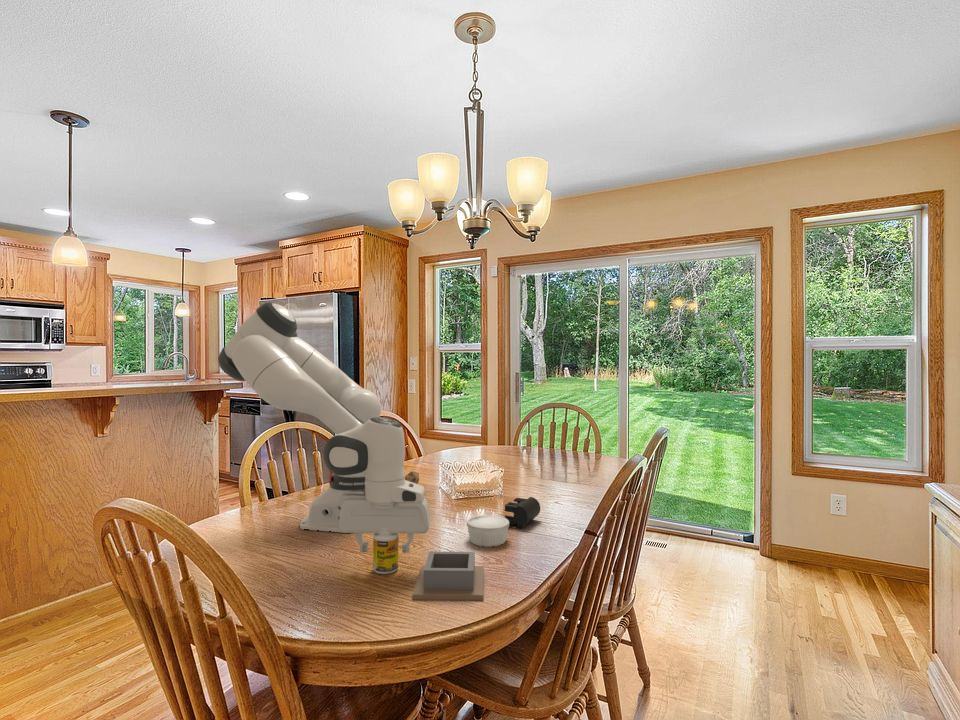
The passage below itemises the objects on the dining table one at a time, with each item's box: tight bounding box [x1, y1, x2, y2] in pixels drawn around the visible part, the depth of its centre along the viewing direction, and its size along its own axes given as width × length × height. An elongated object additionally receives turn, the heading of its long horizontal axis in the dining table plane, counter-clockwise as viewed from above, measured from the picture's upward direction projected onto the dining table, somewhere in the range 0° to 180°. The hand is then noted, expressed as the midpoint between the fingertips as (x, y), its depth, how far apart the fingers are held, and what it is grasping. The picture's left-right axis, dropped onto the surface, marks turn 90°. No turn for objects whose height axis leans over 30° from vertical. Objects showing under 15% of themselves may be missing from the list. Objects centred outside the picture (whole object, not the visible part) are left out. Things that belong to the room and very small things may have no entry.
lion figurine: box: [405, 470, 420, 484], centre depth 175 cm, size 15×5×9 cm, turn 103°
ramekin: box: [466, 514, 510, 548], centre depth 135 cm, size 11×11×5 cm
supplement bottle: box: [372, 528, 399, 575], centre depth 117 cm, size 6×6×10 cm
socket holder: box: [411, 551, 485, 601], centre depth 109 cm, size 14×14×5 cm
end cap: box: [504, 496, 541, 529], centre depth 149 cm, size 10×7×7 cm
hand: (384, 551), depth 117 cm, fingers open, 8 cm apart
